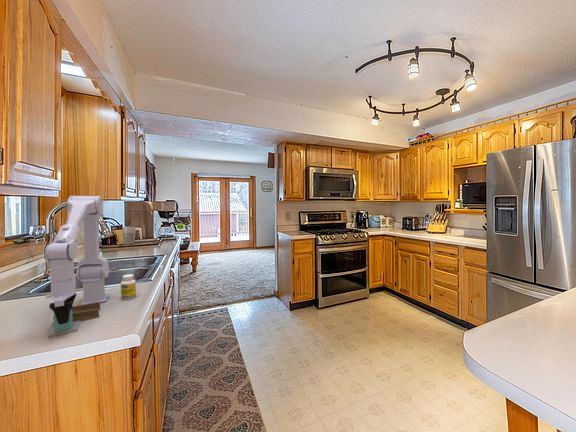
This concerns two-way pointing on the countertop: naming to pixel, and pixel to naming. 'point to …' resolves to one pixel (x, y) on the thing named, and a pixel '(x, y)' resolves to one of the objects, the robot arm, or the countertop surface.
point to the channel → (85, 311)
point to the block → (63, 326)
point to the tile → (72, 329)
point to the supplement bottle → (128, 287)
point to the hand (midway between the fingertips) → (64, 320)
